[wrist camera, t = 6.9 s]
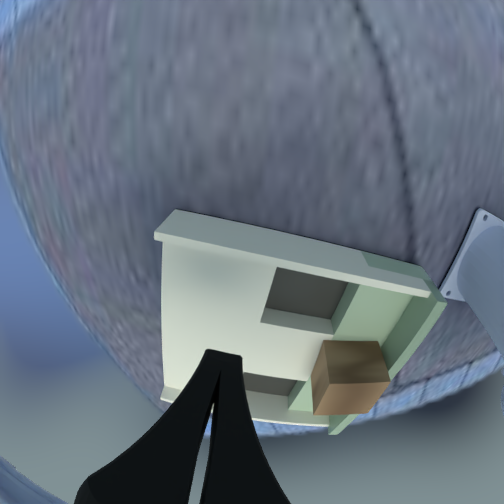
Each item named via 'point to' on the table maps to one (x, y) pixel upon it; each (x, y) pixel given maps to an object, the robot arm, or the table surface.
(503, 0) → the table surface
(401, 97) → the table surface
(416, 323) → the board
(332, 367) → the walnut block
